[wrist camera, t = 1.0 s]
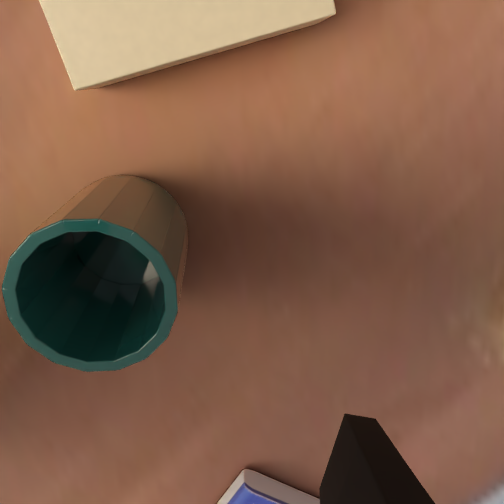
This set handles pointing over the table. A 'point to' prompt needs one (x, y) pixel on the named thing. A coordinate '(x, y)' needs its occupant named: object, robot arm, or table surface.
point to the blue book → (263, 491)
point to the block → (164, 32)
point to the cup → (100, 276)
